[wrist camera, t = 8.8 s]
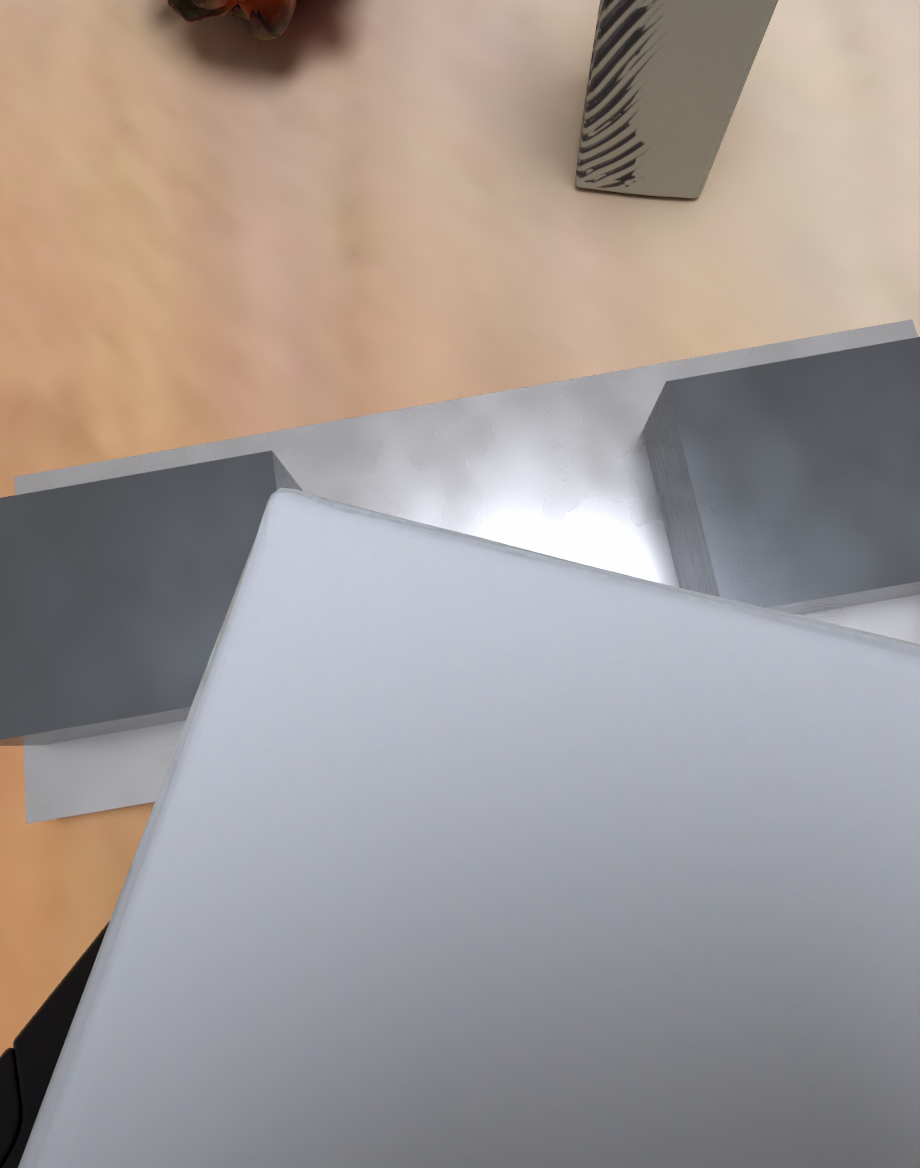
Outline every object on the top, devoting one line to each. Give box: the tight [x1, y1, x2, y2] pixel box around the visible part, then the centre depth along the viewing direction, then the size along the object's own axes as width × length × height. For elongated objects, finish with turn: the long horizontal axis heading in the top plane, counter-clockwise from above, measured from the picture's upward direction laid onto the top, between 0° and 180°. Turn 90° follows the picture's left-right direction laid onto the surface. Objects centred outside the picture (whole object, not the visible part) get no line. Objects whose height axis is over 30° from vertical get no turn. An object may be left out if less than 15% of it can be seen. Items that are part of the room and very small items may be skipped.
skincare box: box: [18, 488, 920, 1168], centre depth 9 cm, size 6×4×12 cm
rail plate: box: [0, 320, 920, 824], centre depth 20 cm, size 10×27×4 cm, turn 100°
